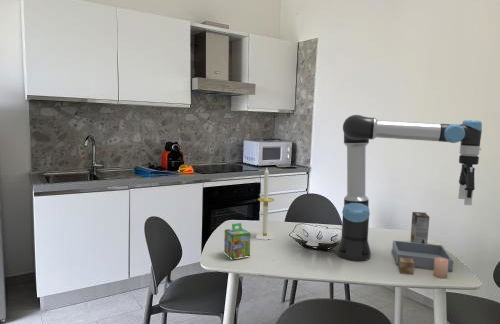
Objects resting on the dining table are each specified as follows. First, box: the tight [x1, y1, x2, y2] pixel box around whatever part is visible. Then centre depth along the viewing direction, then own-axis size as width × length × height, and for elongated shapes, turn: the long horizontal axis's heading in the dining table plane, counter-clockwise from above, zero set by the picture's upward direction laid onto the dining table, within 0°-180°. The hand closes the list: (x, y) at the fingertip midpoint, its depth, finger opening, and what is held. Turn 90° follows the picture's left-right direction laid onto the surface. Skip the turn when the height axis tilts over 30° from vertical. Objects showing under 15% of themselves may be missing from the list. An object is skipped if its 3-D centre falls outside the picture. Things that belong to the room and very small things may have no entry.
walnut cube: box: [398, 258, 415, 276], centre depth 154 cm, size 5×5×5 cm
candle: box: [257, 167, 275, 236], centre depth 193 cm, size 10×10×38 cm
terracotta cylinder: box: [432, 257, 448, 279], centre depth 150 cm, size 5×5×7 cm
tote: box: [391, 240, 454, 273], centre depth 167 cm, size 22×20×5 cm
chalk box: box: [223, 222, 251, 259], centre depth 167 cm, size 9×9×15 cm
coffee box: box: [409, 211, 430, 244], centre depth 187 cm, size 9×6×16 cm
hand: (464, 201), depth 168 cm, fingers open, 13 cm apart
